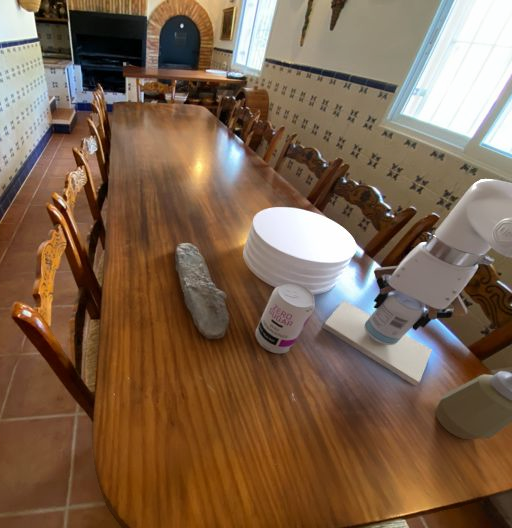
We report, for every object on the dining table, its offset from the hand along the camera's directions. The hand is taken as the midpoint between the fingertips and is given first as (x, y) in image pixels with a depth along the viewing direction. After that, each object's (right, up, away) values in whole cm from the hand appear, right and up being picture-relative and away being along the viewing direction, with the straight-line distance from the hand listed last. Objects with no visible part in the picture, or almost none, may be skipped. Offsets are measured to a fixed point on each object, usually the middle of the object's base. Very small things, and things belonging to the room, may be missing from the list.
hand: (395, 314), depth 64 cm
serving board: (-1, -7, +6) cm, 9 cm away
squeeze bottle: (+4, -19, -8) cm, 21 cm away
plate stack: (-12, +11, +27) cm, 32 cm away
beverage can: (-1, -6, +5) cm, 7 cm away
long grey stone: (-41, +4, +15) cm, 44 cm away
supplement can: (-25, -7, +4) cm, 27 cm away
